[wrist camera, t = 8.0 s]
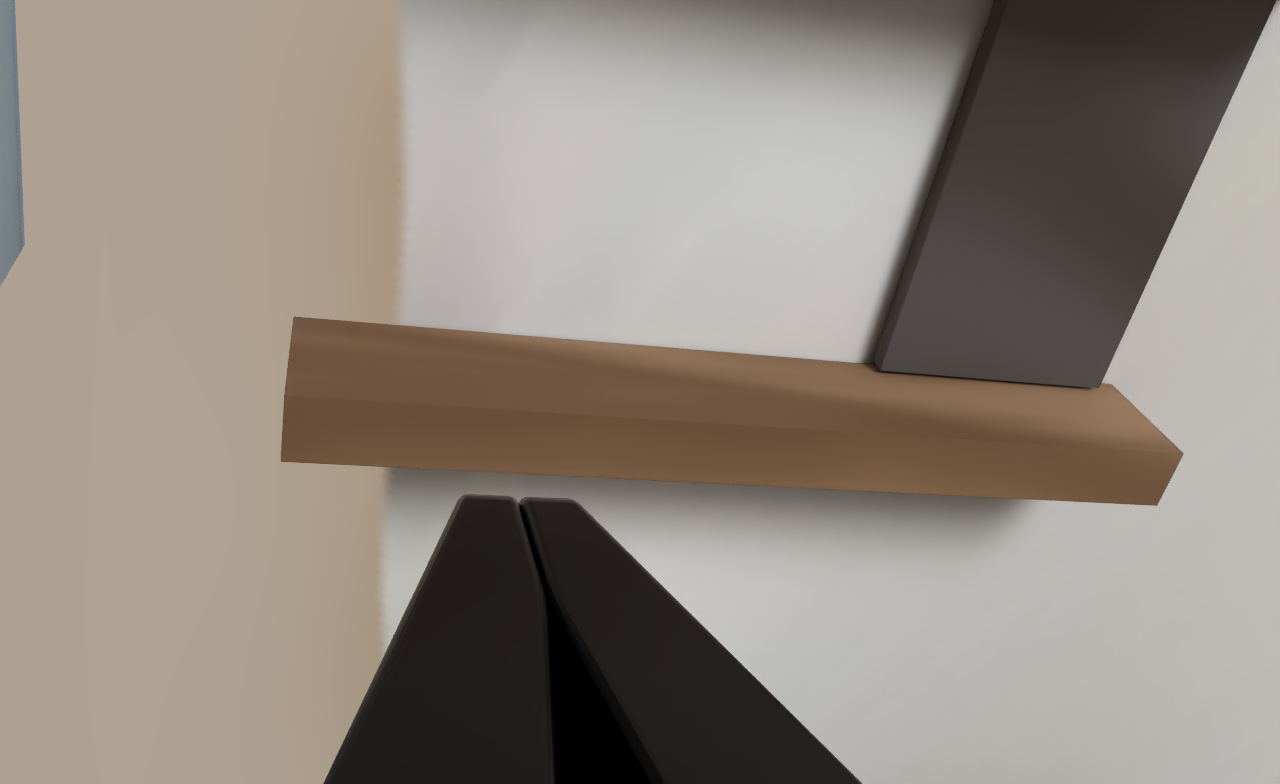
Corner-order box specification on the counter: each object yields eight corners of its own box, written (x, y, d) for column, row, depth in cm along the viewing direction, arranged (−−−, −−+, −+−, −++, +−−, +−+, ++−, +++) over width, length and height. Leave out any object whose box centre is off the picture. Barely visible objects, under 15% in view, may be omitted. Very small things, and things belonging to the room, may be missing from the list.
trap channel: (1088, 433, 24) (1157, 505, 22) (290, 378, 20) (280, 461, 18) (1332, -93, 19) (1450, -63, 17) (330, -320, 15) (323, -318, 13)
